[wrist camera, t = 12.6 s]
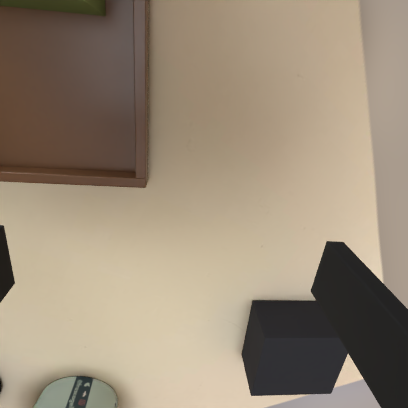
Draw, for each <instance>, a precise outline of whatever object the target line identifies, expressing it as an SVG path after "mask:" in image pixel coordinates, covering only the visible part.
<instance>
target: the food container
mask: <svg viewBox="0 0 408 408" xmlns="http://www.w3.org/2000/svg"><path fill="white" fill-rule="evenodd" d="M33 408H118V399H117V395H116V393H115V391H114V390H113V389H112V388H111V387H110V386H109V385H107V384H106V383H104V382H102V381H100V380H97V379H94V378H90V377H82V376H74V377H66V378H62V379H59V380H56V381H54V382H52V383H51V384H49V385H48V386H47V387H46V388H45V389H44V390H43V392H42V394H41V395H40V397H39V398H38V400H37V402H36V403H35V405H34V407H33Z"/></svg>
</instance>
